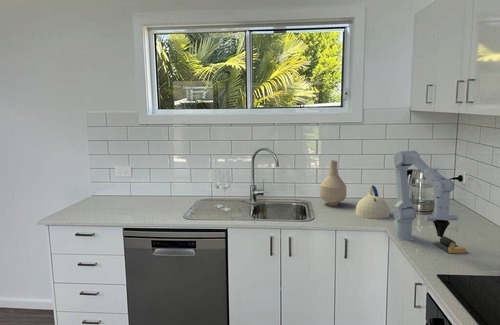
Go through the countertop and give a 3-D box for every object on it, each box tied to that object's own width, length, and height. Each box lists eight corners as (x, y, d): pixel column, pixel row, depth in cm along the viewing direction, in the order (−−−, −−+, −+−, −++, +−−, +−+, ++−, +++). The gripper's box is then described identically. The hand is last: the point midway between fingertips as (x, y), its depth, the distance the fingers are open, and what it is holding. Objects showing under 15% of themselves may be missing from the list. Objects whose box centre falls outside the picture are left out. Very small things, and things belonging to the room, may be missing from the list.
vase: (336, 209, 245) (337, 163, 241) (314, 204, 258) (315, 160, 254) (351, 204, 257) (352, 160, 253) (329, 200, 270) (330, 158, 266)
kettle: (384, 210, 243) (386, 182, 240) (393, 219, 222) (395, 189, 220) (352, 209, 245) (353, 182, 242) (358, 218, 224) (359, 188, 222)
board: (430, 243, 182) (430, 240, 182) (449, 242, 183) (449, 239, 183) (461, 262, 159) (461, 259, 159) (482, 261, 160) (483, 258, 160)
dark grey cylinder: (439, 244, 180) (439, 236, 179) (447, 244, 180) (447, 235, 179) (448, 250, 172) (449, 241, 172) (457, 249, 173) (457, 241, 172)
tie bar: (447, 251, 170) (448, 246, 170) (462, 250, 171) (463, 245, 171) (450, 253, 168) (451, 247, 168) (465, 252, 169) (466, 247, 169)
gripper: (431, 209, 161) (429, 239, 163) (463, 208, 162) (461, 238, 164) (422, 205, 168) (420, 234, 170) (453, 204, 169) (451, 233, 171)
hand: (440, 236), depth 168 cm, fingers closed
